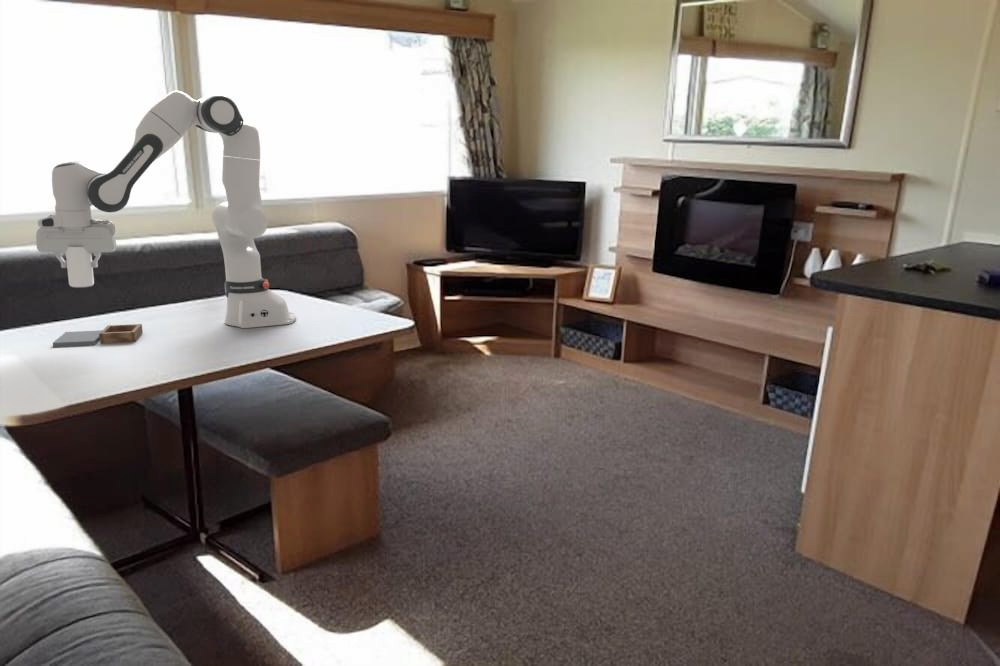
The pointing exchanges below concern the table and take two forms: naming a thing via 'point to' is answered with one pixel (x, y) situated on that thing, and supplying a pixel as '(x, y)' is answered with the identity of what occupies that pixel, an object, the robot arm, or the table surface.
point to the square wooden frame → (121, 333)
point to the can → (79, 267)
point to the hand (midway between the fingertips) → (79, 267)
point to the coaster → (77, 338)
